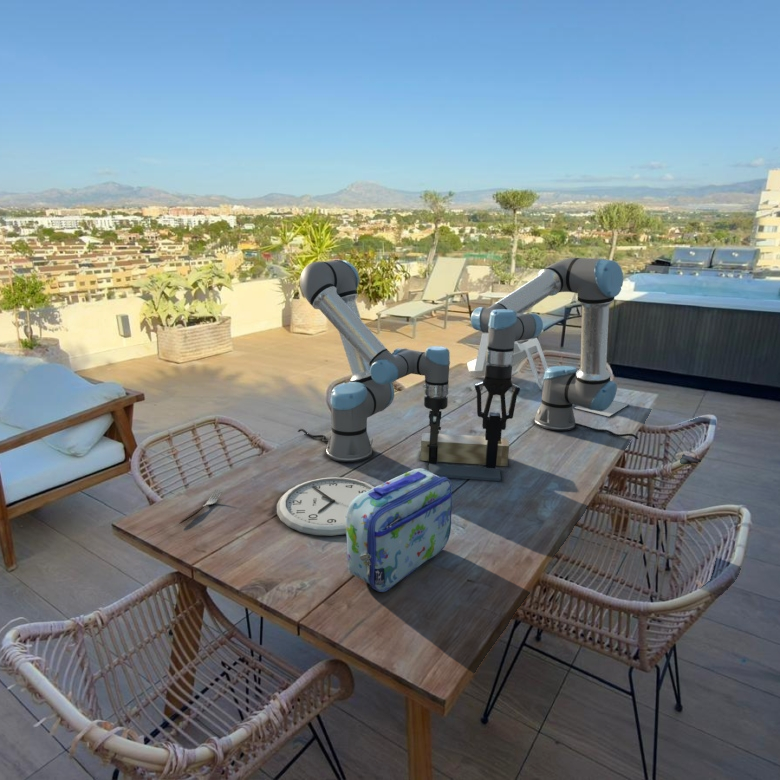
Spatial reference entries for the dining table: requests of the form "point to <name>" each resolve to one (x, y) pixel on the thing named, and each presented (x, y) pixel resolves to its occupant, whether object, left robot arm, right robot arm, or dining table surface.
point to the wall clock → (320, 505)
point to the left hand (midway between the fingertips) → (433, 456)
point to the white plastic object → (520, 352)
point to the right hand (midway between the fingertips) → (492, 438)
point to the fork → (209, 502)
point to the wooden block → (464, 449)
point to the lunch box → (398, 527)
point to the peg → (492, 440)
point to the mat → (465, 472)
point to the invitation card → (609, 411)
